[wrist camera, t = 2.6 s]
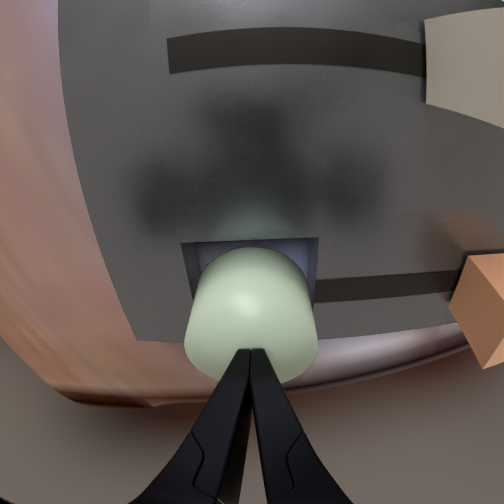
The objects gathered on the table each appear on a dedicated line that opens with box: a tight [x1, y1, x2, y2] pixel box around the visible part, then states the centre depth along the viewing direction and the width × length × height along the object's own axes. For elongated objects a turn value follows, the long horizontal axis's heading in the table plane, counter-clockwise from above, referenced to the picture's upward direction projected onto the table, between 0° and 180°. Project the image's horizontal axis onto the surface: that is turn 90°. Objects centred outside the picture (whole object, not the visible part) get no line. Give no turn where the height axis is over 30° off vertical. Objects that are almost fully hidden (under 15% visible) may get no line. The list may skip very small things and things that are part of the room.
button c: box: [184, 247, 318, 383], centre depth 11 cm, size 4×4×3 cm
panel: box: [58, 0, 504, 342], centre depth 10 cm, size 20×16×2 cm
